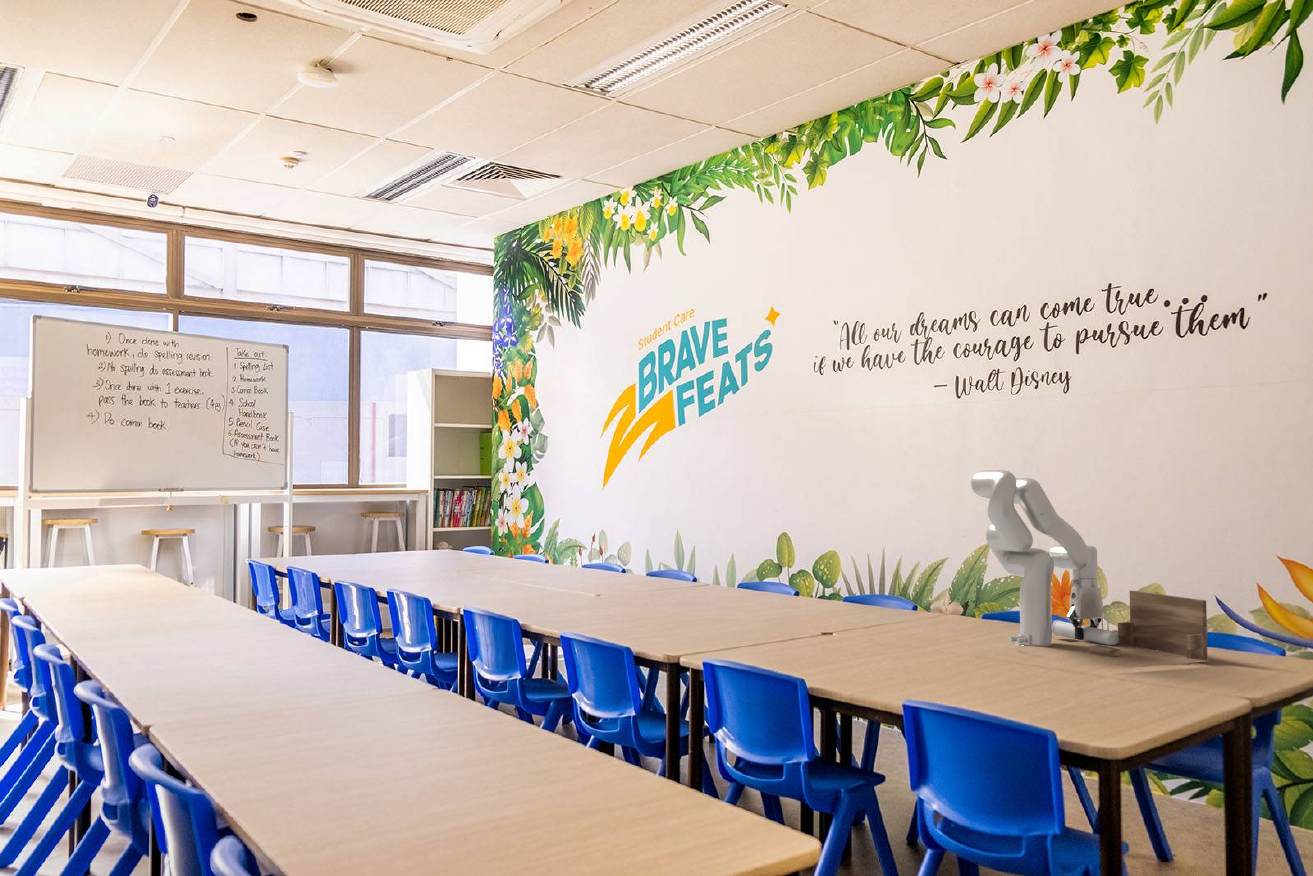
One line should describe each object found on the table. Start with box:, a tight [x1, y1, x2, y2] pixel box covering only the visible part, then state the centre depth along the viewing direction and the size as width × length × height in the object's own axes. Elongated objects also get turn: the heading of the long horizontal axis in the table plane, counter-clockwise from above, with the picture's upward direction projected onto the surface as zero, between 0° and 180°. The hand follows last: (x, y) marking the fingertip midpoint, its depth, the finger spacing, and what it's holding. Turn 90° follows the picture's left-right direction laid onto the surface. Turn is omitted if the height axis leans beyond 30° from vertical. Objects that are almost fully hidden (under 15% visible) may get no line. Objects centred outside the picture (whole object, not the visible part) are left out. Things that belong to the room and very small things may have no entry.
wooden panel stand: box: [1117, 590, 1208, 661], centre depth 310 cm, size 6×28×18 cm, turn 19°
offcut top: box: [1088, 644, 1121, 658], centre depth 303 cm, size 4×8×2 cm, turn 21°
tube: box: [1052, 619, 1119, 647], centre depth 329 cm, size 5×5×25 cm
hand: (1086, 638), depth 329 cm, fingers closed on tube, 4 cm apart
